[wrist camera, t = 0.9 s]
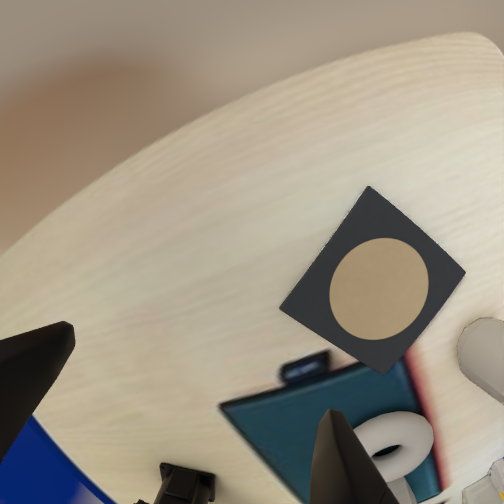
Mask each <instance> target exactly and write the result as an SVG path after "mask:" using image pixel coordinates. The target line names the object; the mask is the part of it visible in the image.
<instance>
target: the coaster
mask: <svg viewBox="0 0 504 504" xmlns="http://www.w3.org/2000/svg"><path fill="white" fill-rule="evenodd" d="M465 273H466V272H465V271H464V270H463V269H462V268H461V267H460V266H459V265H458V264H457V263H456V262H455V261H454V260H453V259H452V258H451V257H450V256H449V255H448V254H447V253H446V252H445V251H444V250H443V249H442V248H441V247H440V246H439V245H438V244H437V243H436V242H434V241H433V240H432V239H431V238H430V237H429V236H428V235H427V234H426V233H425V232H423V231H422V230H421V229H420V228H419V227H418V226H417V225H416V224H414V223H413V222H412V221H411V220H410V219H409V218H408V217H406V216H405V215H404V214H403V213H402V212H401V211H399V210H398V209H397V208H396V207H395V206H393V205H392V204H391V203H390V202H389V201H387V200H386V199H385V198H384V197H382V196H381V195H380V194H379V193H378V192H376V191H375V190H374V189H373V188H371V187H370V186H367V188H366V189H365V191H364V192H363V194H362V195H361V196H360V198H359V199H358V201H357V202H356V204H355V205H354V207H353V208H352V209H351V211H350V212H349V214H348V215H347V217H346V218H345V219H344V221H343V222H342V224H341V225H340V226H339V228H338V229H337V231H336V232H335V233H334V235H333V236H332V238H331V239H330V240H329V242H328V243H327V245H326V246H325V247H324V249H323V250H322V251H321V253H320V254H319V256H318V257H317V258H316V260H315V261H314V262H313V264H312V265H311V266H310V268H309V269H308V270H307V272H306V273H305V274H304V276H303V277H302V278H301V280H300V281H299V282H298V284H297V285H296V286H295V288H294V289H293V290H292V292H291V293H290V294H289V296H288V297H287V298H286V299H285V301H284V302H283V303H282V305H281V306H280V308H279V309H280V310H281V311H283V312H285V313H286V314H288V315H289V316H291V317H292V318H294V319H295V320H297V321H298V322H300V323H301V324H303V325H304V326H306V327H307V328H309V329H310V330H312V331H314V332H315V333H317V334H318V335H320V336H321V337H323V338H324V339H326V340H328V341H329V342H331V343H332V344H334V345H335V346H337V347H338V348H340V349H342V350H343V351H345V352H346V353H348V354H350V355H351V356H353V357H354V358H356V359H357V360H359V361H361V362H362V363H364V364H365V365H367V366H369V367H370V368H372V369H373V370H375V371H377V372H378V373H380V374H382V375H383V376H384V375H385V374H386V373H387V372H388V370H389V369H390V368H391V367H392V366H393V365H394V364H395V363H396V362H397V361H398V359H399V358H400V357H401V356H402V355H403V354H404V353H405V352H406V350H407V349H408V348H409V347H410V346H411V345H412V343H413V342H414V341H415V340H416V339H417V337H418V336H419V335H420V334H421V333H422V331H423V330H424V329H425V328H426V326H427V325H428V324H429V323H430V321H431V320H432V319H433V318H434V316H435V315H436V314H437V312H438V311H439V310H440V308H441V307H442V306H443V304H444V303H445V302H446V300H447V299H448V298H449V296H450V295H451V293H452V292H453V291H454V289H455V288H456V286H457V285H458V283H459V282H460V280H461V279H462V277H463V276H464V274H465Z"/></svg>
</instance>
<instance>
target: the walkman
mask: <svg viewBox="0 0 504 504" xmlns="http://www.w3.org/2000/svg"><path fill="white" fill-rule="evenodd" d="M488 474H489V476H490V478H491V480H492V482H493V484H494V486H495V488H496V490H497V492H498V494H499V496H500V498H501V500H502V502H503V504H504V457H503V458H502V459H500V460H498V461H496V462H494V463H493V465H492V467H491V468H490V470H489V472H488Z"/></svg>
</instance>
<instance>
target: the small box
mask: <svg viewBox="0 0 504 504" xmlns="http://www.w3.org/2000/svg"><path fill="white" fill-rule="evenodd" d="M463 504H503V502H502V500H501V498H500V496H499V494H498V492H497V490H496V488H495V486H494V484H493V482H492V480H491V478H490V476H489V475H487V476H486V477H484V478H482V479H481V480H479V481H477V482H476V483H474V484H472V485H470V486H469V487H467V488H465V489H464V490H463Z"/></svg>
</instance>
